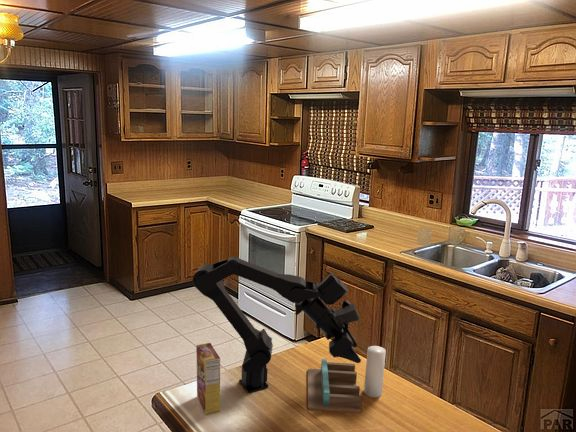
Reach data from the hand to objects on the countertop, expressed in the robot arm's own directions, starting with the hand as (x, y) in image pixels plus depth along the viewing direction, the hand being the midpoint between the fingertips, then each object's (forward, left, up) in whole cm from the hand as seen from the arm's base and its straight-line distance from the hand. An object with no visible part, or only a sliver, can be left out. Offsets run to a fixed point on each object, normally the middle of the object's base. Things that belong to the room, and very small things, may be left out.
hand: (358, 353), depth 130 cm
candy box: (-39, +13, -12) cm, 43 cm away
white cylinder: (+4, -3, -11) cm, 13 cm away
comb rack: (-5, +3, -11) cm, 13 cm away
